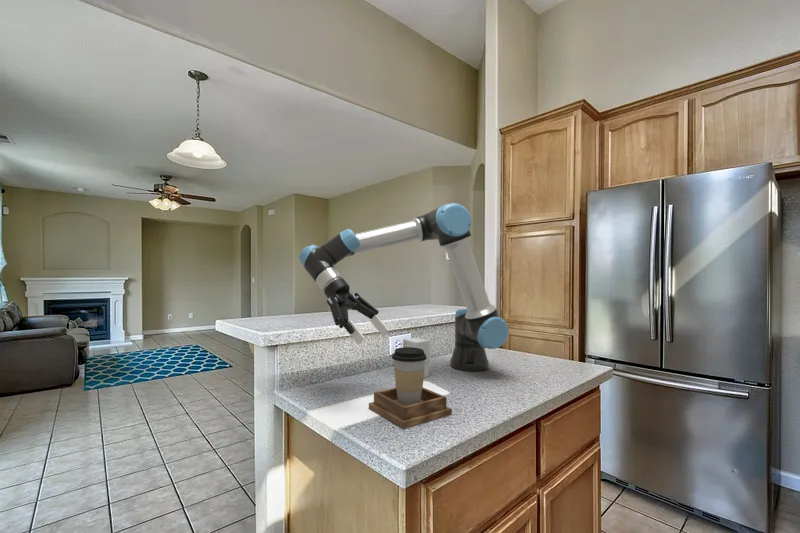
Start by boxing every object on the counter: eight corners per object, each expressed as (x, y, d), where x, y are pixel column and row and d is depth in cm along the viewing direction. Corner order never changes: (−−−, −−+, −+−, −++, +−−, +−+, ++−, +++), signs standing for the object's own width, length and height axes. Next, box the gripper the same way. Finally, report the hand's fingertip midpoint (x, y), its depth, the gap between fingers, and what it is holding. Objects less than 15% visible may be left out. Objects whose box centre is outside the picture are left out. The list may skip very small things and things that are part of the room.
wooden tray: (414, 397, 110) (414, 382, 110) (451, 414, 97) (451, 397, 97) (368, 408, 101) (368, 392, 101) (403, 429, 88) (403, 410, 88)
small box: (429, 376, 132) (430, 340, 132) (415, 379, 128) (416, 342, 129) (415, 371, 139) (416, 337, 139) (402, 374, 135) (402, 338, 135)
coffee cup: (423, 414, 93) (424, 355, 94) (387, 410, 95) (388, 353, 96) (428, 401, 103) (428, 347, 103) (395, 398, 105) (396, 345, 105)
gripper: (350, 291, 128) (387, 338, 121) (298, 296, 106) (341, 353, 98) (362, 276, 125) (401, 322, 118) (313, 278, 103) (357, 335, 96)
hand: (374, 337), depth 108 cm, fingers open, 13 cm apart
